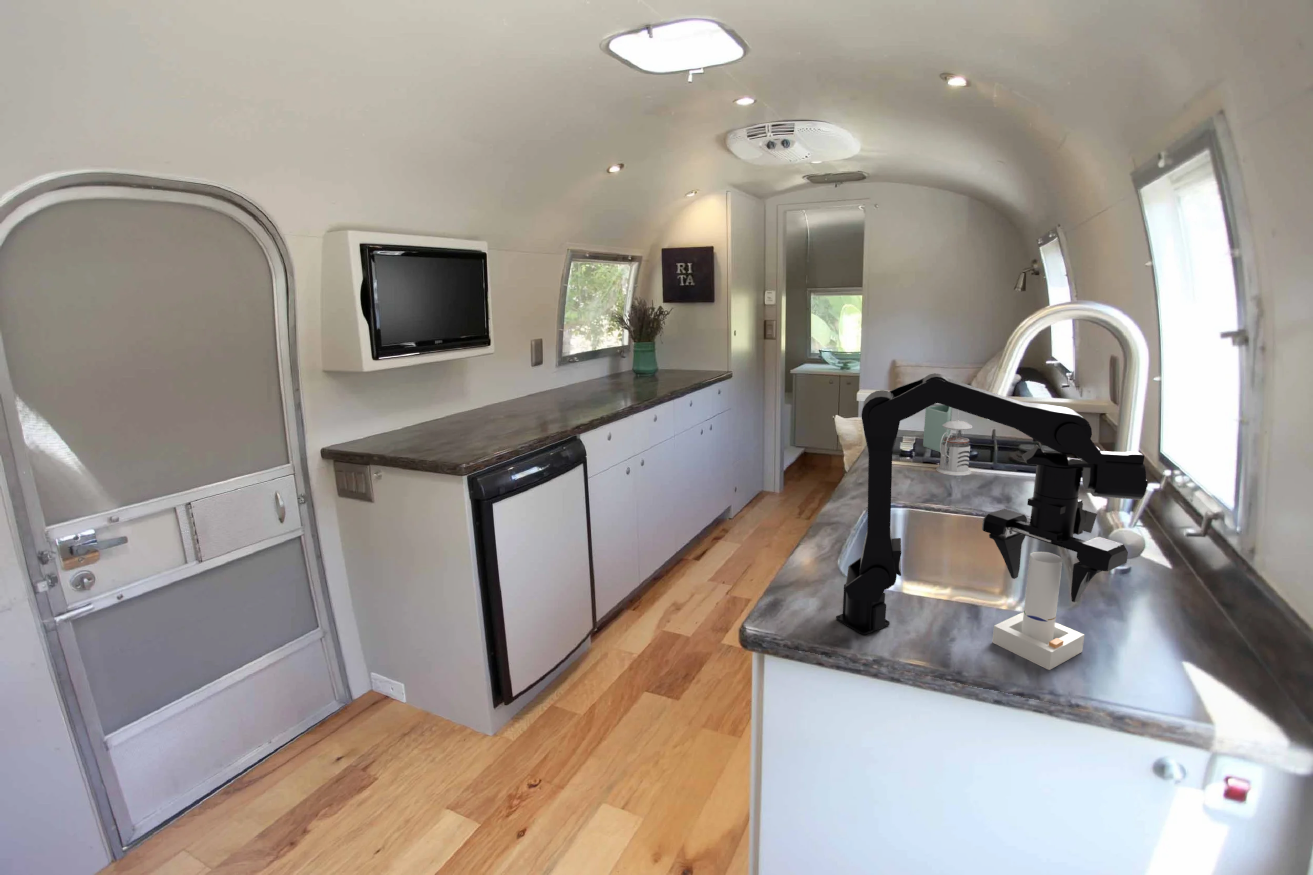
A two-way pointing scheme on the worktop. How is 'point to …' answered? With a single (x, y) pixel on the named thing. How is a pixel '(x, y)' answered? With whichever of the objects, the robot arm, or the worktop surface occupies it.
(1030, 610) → the tube
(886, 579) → the robot arm
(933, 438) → the planter
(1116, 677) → the worktop surface
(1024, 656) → the white hollow square block
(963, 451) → the french press
